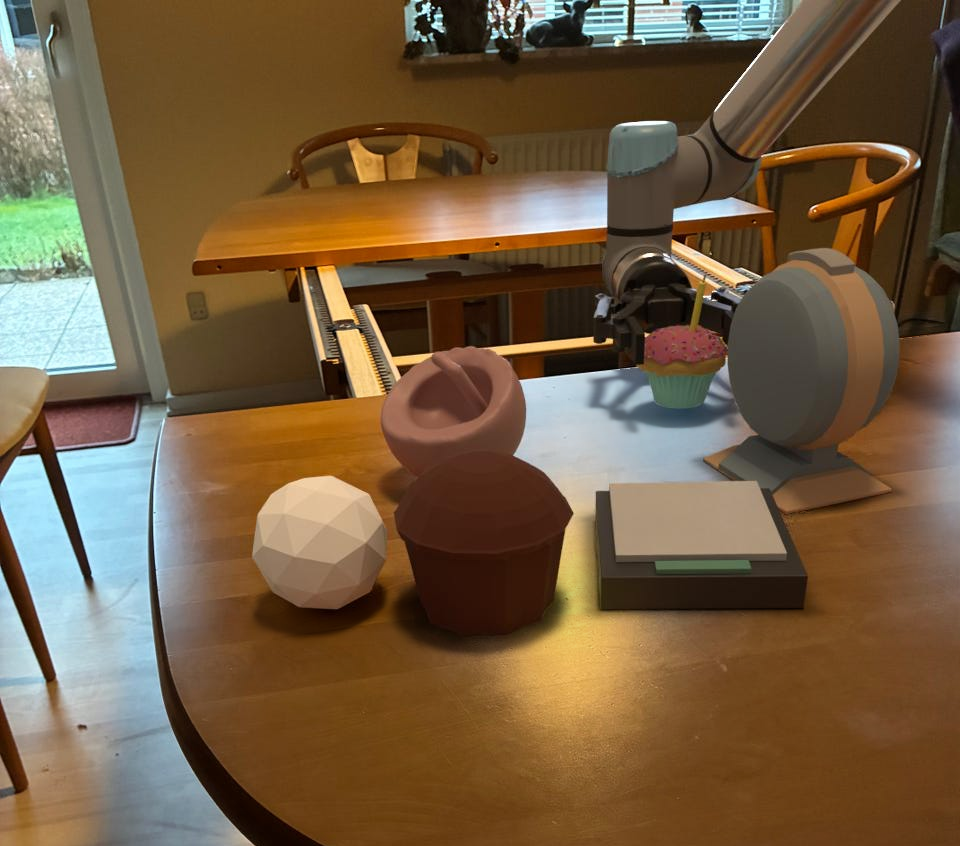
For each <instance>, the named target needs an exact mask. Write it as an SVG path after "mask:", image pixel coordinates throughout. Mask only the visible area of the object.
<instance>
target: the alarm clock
mask: <svg viewBox="0 0 960 846" xmlns="http://www.w3.org/2000/svg"><path fill="white" fill-rule="evenodd" d="M889 300H890V299H889V298H888V296H887V294H886V292H885V290H884V288H883V287H882V286H881V285H880V284H879V283H878V282H877V281H876V280H875V278H873V277H872V275H870V274H868V273H867V272H866V271H864V270H863V269H862V268H859V267H857V266H856V263H855V262H854V261H853V260H852V259H851V258H849V257H848V256H847V255H845V254H844V253H842V252H841V251H839V250H836V249H834V248H831V247H829V248H828V247H819V248H810V249H803V250H797V251H796V250H795V251H792V252H790V253H789V254H788V255H787V261H786V262H784V263H781V264H780V265H778V266H776V267H775V269H774V270H772V272H769V273H767V274H764V275H763V276H761V277H760V278H759V279H758V280H757V281H756V282H755V283H754V284H753V285H752V286H751V287H750V288H749V289H748V290H747V291H746V292H745V293H743V296H742V297H741V301H740V303H739V304H738V306H737V308H736V311H735V314H734V317H733V320H732V323H731V326H730V333H729V339H728V347H727V348H728V355H727V369H728V371H727V372H728V379H729V385H730V388H731V392H732V396H733V399H734V402H735V404H736V406H737V408H738V411H739V413H740V415H741V418H743V420H744V421H745V422H746V424H747V425H748V427H749V429H751V430H752V431H753V432H754V433H756V435H750V436H748V437H747V438H746V439H744V440H743V441H742V442H741V443H740V444H735V445H732V446H730V447H728V448H725V449H723V450H719V451H718V452H715V453H713V454H710V455H708V456H706V457H703V458H702V461H703V462H704V463H705V464H708V465H709V466H710V467H712V468H713V469H715V470H717V471H718V472H719V473H721V474H723V475H725V476H726V477H727V478H729V479H730V480H731V481H757V483H758V485H759V487H760V488H770V490H771V493H772V495H773V497H774V500H775V502H776V504H777V506H778V509H779V511H780V512H782V513H783V514H785V515H788V514H793V513H799V512H803V511H807V510H813V509H816V508H822V507H827V506H831V505H836V504H840V503H841V504H842V503H845V502H850V501H855V500H859V499H863V498H869V497H873V496H878V495H883V494H888V493H892V491H893V488H891V487H890V486H888V485H887V484H885V483H883V482H882V481H880V480H878V479H877V478H875V477H874V476H873V473H872V472H870V471H869V470H868V469H866V468H864V467H863V466H862V465H860V464H858V463H857V462H856V461H854V460H853V459H851V458H850V457H849V456H848V455H845V454H843V453H842V452H839V451H838V450H839V445H840V444H842V443H843V442H845V441H847V440H849V439H851V438H852V437H854V436H855V434H857V433H858V432H859V431H860V430H861V431H862V430H863V429H864V428H866V427H867V426H868V425H870V423H871V422H872V421H873V419H874V418H875V417H876V416H877V415H878V414H879V413H880V412H881V410H882V409H883V408H884V407H885V405H886V404H887V401H888V399H889V397H890V395H891V393H892V392H893V389H894V386H895V382H896V378H897V375H898V371H899V363H900V362H899V361H900V352H901V351H900V350H901V345H900V336H899V335H900V333H899V326H898V322H897V318H896V314H895V310H894V311H893V308H892V305H891V303H890V301H891V300H890V301H889Z"/></svg>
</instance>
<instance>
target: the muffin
mask: <svg viewBox="0 0 960 846" xmlns="http://www.w3.org/2000/svg"><path fill="white" fill-rule="evenodd" d="M574 514H575V512H574V511H573V509H572V506H571V505H570V503H569V501H568V500H567V498H566V496H565V495H563V493H562V492H561V490H560V489H559V488H558V487H557V486H556V485H555V482H553V480H552V479H551V478H550V477H549V476H548V475H547V473H545V472H544V471H543V470H541V469H540V468H538V467H536V466H535V465H533V464H531V463H529V462H528V461H525V460H523V459H522V458H519V457H517V456H515V455H511V454H508V453H503V452H498V451H492V450H472V451H467V452H461V453H455V454H453V455H451V456H448V457H446V458H444V459H442V460H440V461H438V462H436V463H434V464H432V465H431V466H429V467H428V468H426V469H425V470H424V471H423V472H422V473H421V474H420V475H419V476H418V477H416V478H415V479H414V481H413V482H412V483H411V484H410V486H409V487H408V488H407V490H406V491H405V492H404V494H403V496H402V498H401V500H400V501H399V503H398V505H397V507H396V508H395V510H394V511H393V517H394V524H395V530H396V532H397V533H398V536H399V538H400V539H401V540H402V541H403V542H404V546H405V548H406V552H407V556H408V559H409V563H410V567H411V571H412V574H413V578H414V582H415V586H416V589H417V592H418V598H419V600H420V604H421V605H422V607H423V609H424V610H425V612H426V614H427V618H428V623H429V624H431V625H435V626H437V627H440V628H445V629H447V630H449V631H451V632H453V633H456V634H457V635H460V636H461V637H462V636H480V635H488V636H489V635H492V636H507V635H508V634H509V635H510V634H511V633H513V632H515V631H517V630H519V629H521V628H524V627H528V626H531V625H534V624H537V623H541V621H542V619H543V617H544V615H545V613H546V611H547V610H548V609H549V608H550V606H551V605H552V604H553V603H554V601H555V596H556V595H555V593H556V590H557V589H556V588H557V584H558V578H559V570H560V565H561V558H562V553H563V546H564V541H565V534H566V529H567V527H568V525H569V524H570V522H571V520H572V518H573V516H574Z"/></svg>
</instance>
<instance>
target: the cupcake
mask: <svg viewBox="0 0 960 846" xmlns="http://www.w3.org/2000/svg"><path fill="white" fill-rule="evenodd" d="M707 275H708V273H707V272H705V273H704V274H703V278H702V281H699V282H698V285H697V289H696V290H697V295H696V300H695V305H694V310H693V315H692V320H691V325H687V326H680V325H676V326H672V325H671V327H669V326H668V327H663V328H661V329H657V330H655V331H653V332H651V333H650V334H648V335H647V336H645V346H644V364H642V365H635V366H636V367H637V368H638V369H640V370H641V371H643V372H645V375H646V378H647V380H648V382H649V386H650V388H651V392H652V396H653V400H654V402H655V403H656V404H657V405H658V406H660V407H663V408H668V409H691V408H696V407H699V406H701V405H703V404H704V402H705V400H706V398H707V395H708V393H709V390H710V387H711V385H712V382H713V381H714V378H715V376H716V374H717V373H718V372H719V371H720V370H721V369H722V368H724V367H725V365H726V361H727V358H726V356H728V347H727V345H726V344H725V343H724V342H723V341H722V337H720V336H719V335H716V333H715V332H712V331H709V330H708V329H704V328H702V327H701V326H699V325H698V321H699V317H700V312H701V307H702V302H703V297H704V296H705V293H706V287H707V282H705V281H706V279H707Z"/></svg>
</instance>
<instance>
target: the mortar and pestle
mask: <svg viewBox="0 0 960 846" xmlns="http://www.w3.org/2000/svg"><path fill="white" fill-rule="evenodd" d="M525 396H526V395H525V392H524V390H523V386H522V383H521V381H520V379H519V377H518V374H517V373H516V372H515V370H514V369H513V367H512V364H511V362H510V361H509V360H508V359H507V358H505V357H503V356H502V355H500V354H498V353H497V352H496V351H494V350H492V349H490V348H478V347H476V346H473V345H469V346H465V347H453V348H451V349H449V350H442V351H434V352H433V353H432V354H431V356H429V357H428V358H425V359H424V360H422V361H421V362H419V363H417V364H415V365H413V366H412V367H411V368H410V369H409V370H408V371H407V372H406V373H404V374H403V375H402V376H401V377H400V378H399V379H398V380H397V381H396V382H395V383H394V385H393V386H392V387H391V388H390V390H389V391H388V393H387V394H386V397H385V399H384V401H383V403H382V406H381V411H380V427H381V430H382V431H381V432H382V435H383V437H384V439H385V442H386V444H387V446H388V449H389V450H390V452H391V454H392V455H393V456H394V458H395V459H396V461H398V462H399V464H400V465H401V467H403V468H404V469H405V470H406V471H408V472H409V473H410V474H412V475H413V476H414V477H416V478H417V477H418V476H419V475H420V474H421V473H422V472H423V471H424V470H425V469H426V468H428V467H429V466H431V465H432V464H434V463H436V462H438V461H440V460H442V459H444V458H446V457H448V456H451V455H453V454H455V453H461V452H467V451H472V450H492V451H498V452H503V453H508V454H511V455H513V456H515V454H516V452H517V451H518V449H519V446H520V445H521V443H522V440H523V436H524V433H525V429H526V423H527V403H526V401H527V400H526V397H525Z"/></svg>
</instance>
